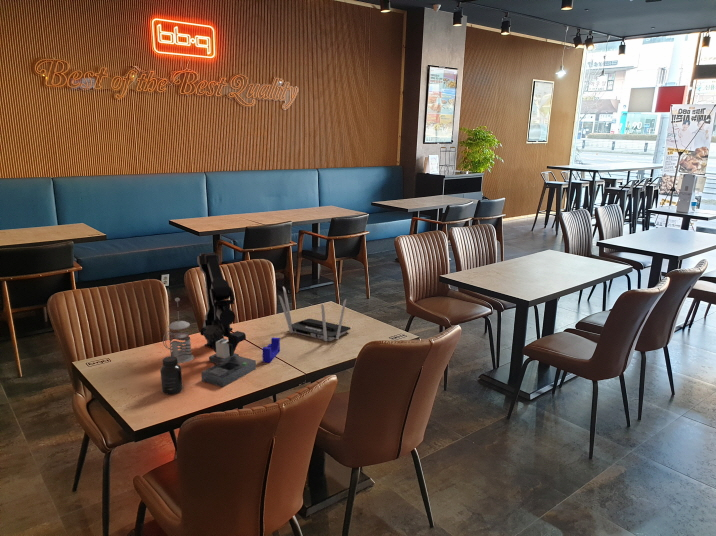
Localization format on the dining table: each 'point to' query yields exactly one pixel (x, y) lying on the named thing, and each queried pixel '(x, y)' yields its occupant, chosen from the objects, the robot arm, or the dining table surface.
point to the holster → (218, 360)
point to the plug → (222, 349)
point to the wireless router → (315, 324)
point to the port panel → (228, 370)
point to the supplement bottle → (171, 376)
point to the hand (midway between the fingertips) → (223, 354)
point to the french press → (185, 352)
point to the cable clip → (271, 350)
